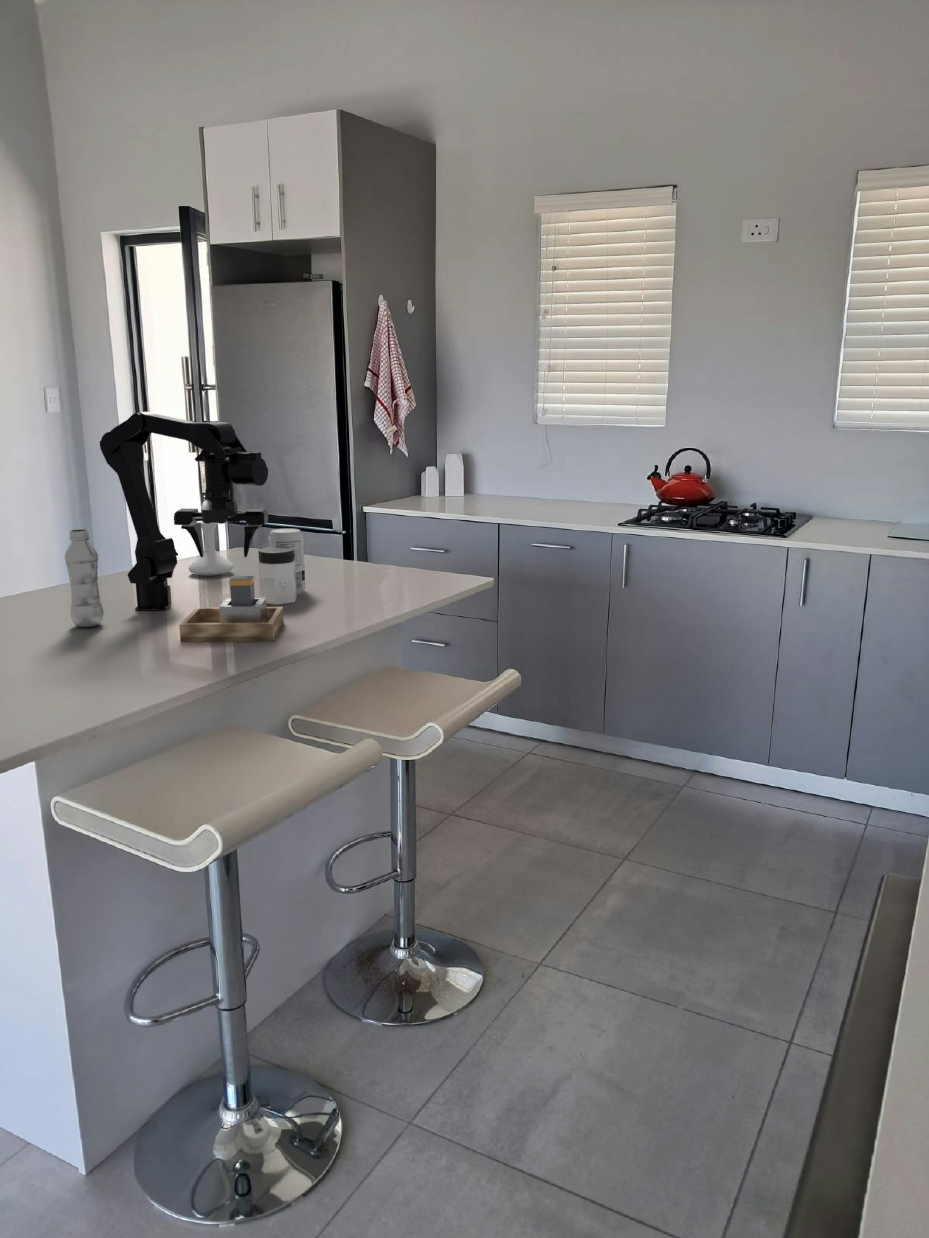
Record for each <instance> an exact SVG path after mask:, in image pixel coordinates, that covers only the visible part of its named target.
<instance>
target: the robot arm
mask: <svg viewBox="0 0 929 1238" xmlns="http://www.w3.org/2000/svg"><path fill="white" fill-rule="evenodd" d="M152 434H155V435H161V436H164V437H168V438H169V437H170V438H173V439H174V438H175V439H178V440H179V439H180V440H182V441H186V442H189V443H190V444H192V446H194V447H196V448H198V449H200V450H201V451H200V453H199V454H197V456H195V458H194V461H195V462H204V476H205V477H204V478H205V479H204V481H205V492H204V493H205V497H204V501H203V502H202V505H201V508H200V511H201V512H199V509H198V508H180V509H178V510H176V511H175V513H174V514H173V525H174V526H180V528H181V530H186V532H187V533H188V534H189V535H190V537H191V539H192V540H193V543H194V545H195V547H196V550H197V552H198V555H199V556H200V557H203V556H204V550H205V546H204V540H203V533H202V532H203V530H202V528H201V523H198V522H203V523H205V524H209V523H217V524H219V525H220V524H221V525H223V524H226V523H227V522H245V523H246V524H245V526H244V527H243V531H244V537H243V538H244V540H243V555H244V558H247V557H248V554H249V551H250V547H251V546H252V545H251V544H252V542H253V541H252V540H253V537H254V535H255V533H256V531H257V529H258V530H259V529H260V528H261V527H262V526H265V525H266V524H267V523H268V522H269V511H268V510H267V509H266V508H248V509H246V510H245V512H241V511H240V512H238V505H237V501H236V498H235V485H238V486H253V487H254V486H257V487H262V486H263V485H265V483H267V480H268V477H269V467H268V466H267V463H266V461H265V460H264V458H263V457H262V453H261V451H255V452H254V451H253V452H248V451H247V449H246V448H245V446H244V445H243V443H242V442H241V440H240V439H239V437H238V436H237V434H236V431H235V428H234V427H233V425H232V424H231V423H229V422H225V421H223V422H222V421H220V422H219V421H216V422H214V421H210V422H209V421H208V422H196V421H191V420H186V419H181V418H177V417H171V416H167V415H162V414H156V413H154V412H152V411H137V412H135V413H133V414H131V415H130V417H128V418H127V419H126V420H124V421H123V422H121V423H119V424H118V425H117V426H114V427H113V428H112V429H111V430H110V431H107V432H105V433H103V435H102V437H101V439H100V440H99V447H100V451H101V454H102V455H103V458H104V460H105V463H106V464H107V465H108V466H109V467H110V468H111V469H112V470H113V471H114V472H115V473H116V474H117V476H118V479H119V483H120V486H121V490H122V493H123V495H124V499H125V502H126V506H127V509H128V512H129V515H130V517H131V521H132V524H133V528H134V531H135V535H136V538H137V540H136V544H135V550H134V556H135V561H136V562H135V564H134V565H133V566H132V568H131V569H130V570H129V571H128V573H127V578H128V580H129V583H130V584H132V585H133V584H135V594H136V604H137V606H136V607H134V609H135V611H165V610H166V609H168V607H170V606H171V605H172V591H171V585H169V584H168V579H171V578H173V575H174V572H175V571H174V570H175V569H176V567H177V565H178V557H177V556H179V554H178V551H177V550H176V548H175V547H176V546H175V541H174V539H173V537H172V538H171V537H170V538H166V537H165V535H163V533H161V530H160V527H159V524H158V521H157V518H156V514H155V512H154V508H153V504H152V502H151V498H150V495H149V491H148V488H147V485H146V481H145V478H144V475H143V473H142V466H143V460H144V457H145V456H144V450H143V446H144V445H145V444H146V443H148V441H149V440H150V437H151V435H152Z"/></svg>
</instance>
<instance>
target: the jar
mask: <svg viewBox="0 0 929 1238" xmlns="http://www.w3.org/2000/svg"><path fill="white" fill-rule="evenodd" d="M257 553H258V563H257V566H258V567H257V568H258V582H259V583H258V584H259V598H266V602H267V604H268V605H275V606H277V605H283V604H285V605H286V604H291V603H292V604H293V603H295V601H296V600H297V595H298V594H297V592H296V568H295V555H294V549H293V548H289V547H269V546H267V547H264V548H260V549H258V551H257Z"/></svg>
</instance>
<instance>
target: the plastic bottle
mask: <svg viewBox="0 0 929 1238" xmlns="http://www.w3.org/2000/svg"><path fill="white" fill-rule="evenodd" d="M89 540H90V533H89V529H86V528H77V529H74V528H73V529H69V541H70V544H69V546H68V547H67V549H66V551H65V554H64V560H65V565H66V569H67V573H68V578H69V583H70V596H71V597H70V601H71V602H70V613H69V615H70V619H71V623H72V624H73V625H75V627H81V628H91V627H95V626H99V625H101V624H102V623H103V621H104V616H105V615H104V614H105V611H104V606H103V603H102V602H101V596H100V590H99V583H98V581H99V580H98V579H99V577H98V570H99V554H98V552H97V550H96V548H95V547H94V546H93V545H92V543H90V542H89Z"/></svg>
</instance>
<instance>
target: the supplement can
mask: <svg viewBox="0 0 929 1238" xmlns="http://www.w3.org/2000/svg"><path fill="white" fill-rule="evenodd" d="M267 540H268V541H267V542H268V547H289V548H293V549H294V555H295V568H296V592H297V595H299V594H302V593H303V592H304V591H306V571H305V570H306V569H305V567H306V566H305V546H304V544H305V542H304V541H305V540H304V536H303V533H302V532H301V529H300V528H299V529H298V528H290V527H289V528H284V527H283V528H275V529H271V530H270V532H269V534H268V537H267Z"/></svg>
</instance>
